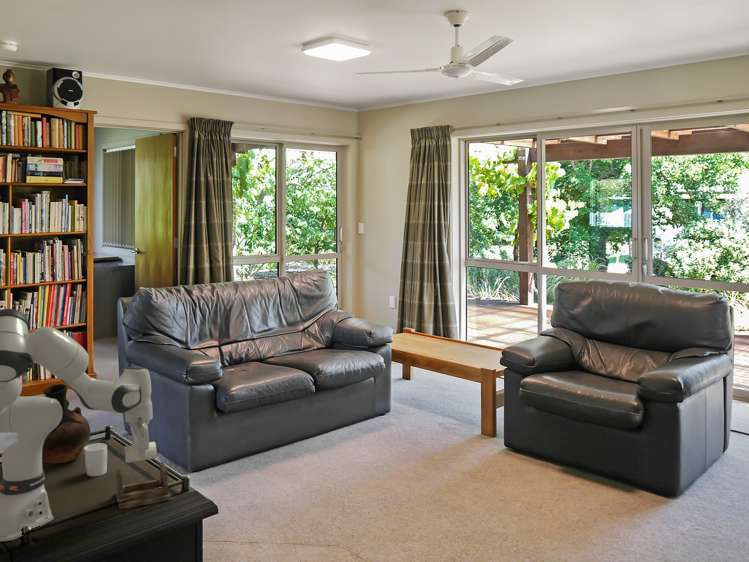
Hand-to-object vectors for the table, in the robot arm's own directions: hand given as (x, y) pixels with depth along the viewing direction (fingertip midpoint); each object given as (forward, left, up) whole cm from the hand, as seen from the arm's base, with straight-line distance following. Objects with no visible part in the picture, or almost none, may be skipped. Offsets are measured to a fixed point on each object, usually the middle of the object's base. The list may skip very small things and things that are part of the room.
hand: (140, 454), depth 229 cm
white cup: (+16, +28, -15) cm, 36 cm away
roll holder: (0, 0, -15) cm, 15 cm away
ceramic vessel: (+24, +48, -15) cm, 56 cm away
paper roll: (0, 0, -2) cm, 2 cm away
